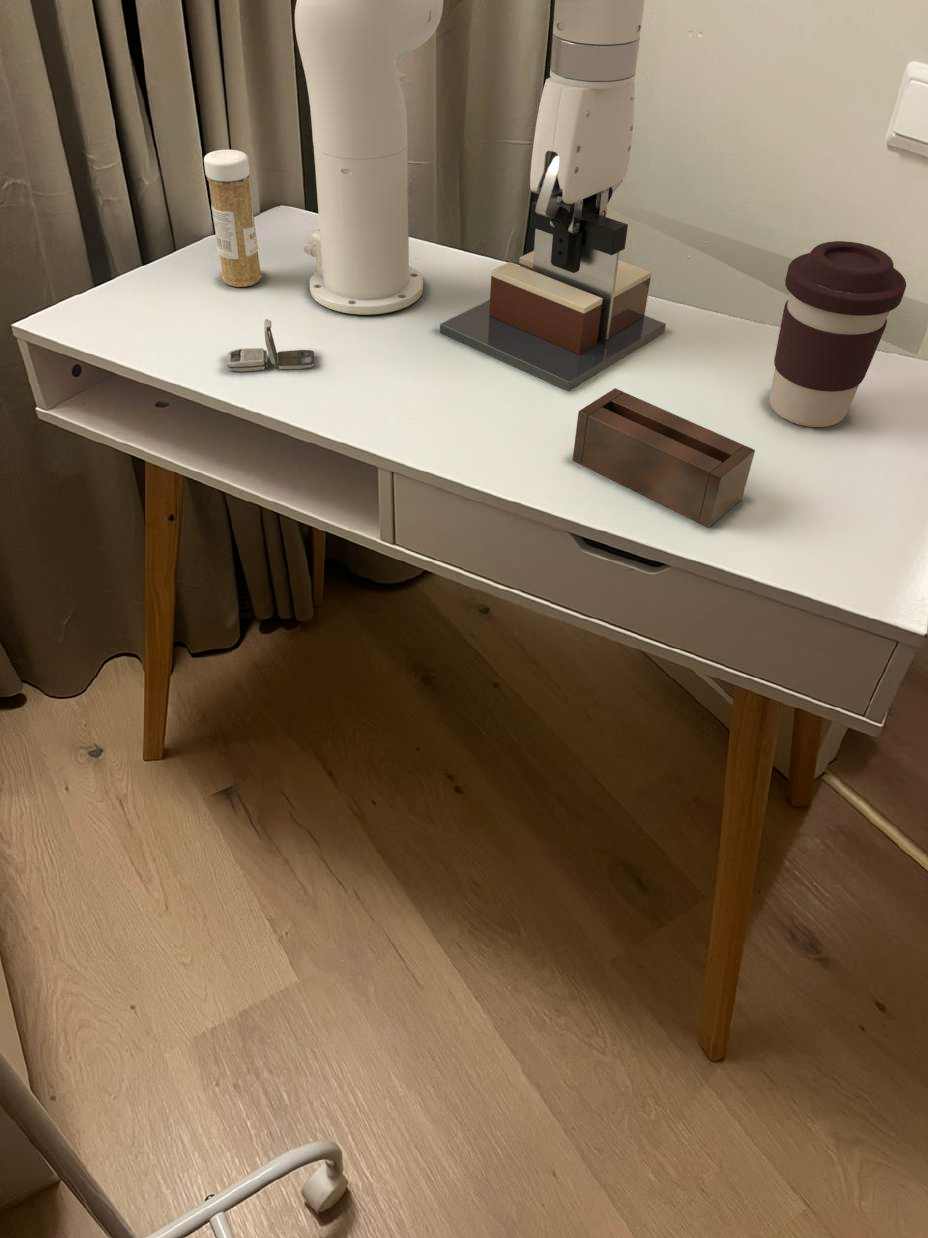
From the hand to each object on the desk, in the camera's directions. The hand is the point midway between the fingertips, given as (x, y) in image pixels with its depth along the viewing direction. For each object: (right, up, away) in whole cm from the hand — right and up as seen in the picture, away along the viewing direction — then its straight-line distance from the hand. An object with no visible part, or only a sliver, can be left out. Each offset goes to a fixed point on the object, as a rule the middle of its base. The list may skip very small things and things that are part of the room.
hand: (574, 262), depth 99 cm
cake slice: (-3, -6, +4) cm, 8 cm away
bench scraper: (0, -5, +4) cm, 7 cm away
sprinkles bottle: (-36, +3, +13) cm, 39 cm away
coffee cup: (+22, -16, -4) cm, 27 cm away
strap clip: (-30, -10, 0) cm, 32 cm away
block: (+6, -24, -13) cm, 28 cm away
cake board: (-2, -5, +6) cm, 8 cm away
